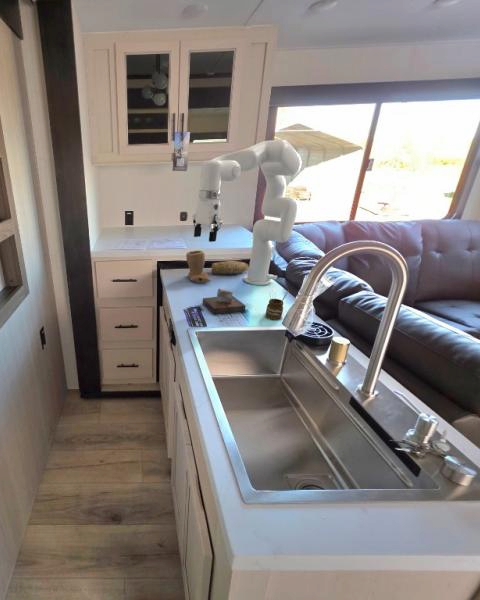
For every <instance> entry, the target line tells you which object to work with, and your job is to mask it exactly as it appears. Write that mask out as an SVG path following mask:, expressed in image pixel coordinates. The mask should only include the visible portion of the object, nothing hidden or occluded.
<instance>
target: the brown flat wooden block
mask: <svg viewBox="0 0 480 600" xmlns="http://www.w3.org/2000/svg"><path fill="white" fill-rule="evenodd" d="M202 306H203V307H205V308H206V309H207V310H208V311H209V312H210V313H211V314H212V315H213V316H221V315H229V314H239V313H246V312H245V311H246V304H245V303H243V302H242V301H241V300H239V299H238V298H236V297H235V296H234V295H232V301H231V303H225V302H217V296H210V297H202Z"/></svg>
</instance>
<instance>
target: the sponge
mask: <svg viewBox="0 0 480 600" xmlns="http://www.w3.org/2000/svg"><path fill="white" fill-rule="evenodd" d="M248 270H249V264H248V263H247V262H243V261H237V260H226V261H219V262H214V263H211V273H212V274H215V275H236V274H240V273H243V272H245V271H248Z"/></svg>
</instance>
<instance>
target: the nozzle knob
mask: <svg viewBox="0 0 480 600" xmlns="http://www.w3.org/2000/svg"><path fill="white" fill-rule="evenodd" d="M233 292H234V290H231V289H222V288H218V289H217V293H216V297H217V302H225V303H231V301H232V296H233V294H234V293H233Z"/></svg>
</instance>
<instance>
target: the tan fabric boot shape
mask: <svg viewBox="0 0 480 600" xmlns="http://www.w3.org/2000/svg"><path fill="white" fill-rule="evenodd" d="M185 256H186V262H187V266H188V268H189V272H188V275H187V276H188V278H189V279H190V281H192V282H195V283H197V284H206V283H209V282H211V279H210V277H209V275H208V274H207V273H206V272H205V271H204V268H205V267H204V266H205V263H206V254H205V252H204V251H202V250H191V251H188V252H186V255H185Z"/></svg>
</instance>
